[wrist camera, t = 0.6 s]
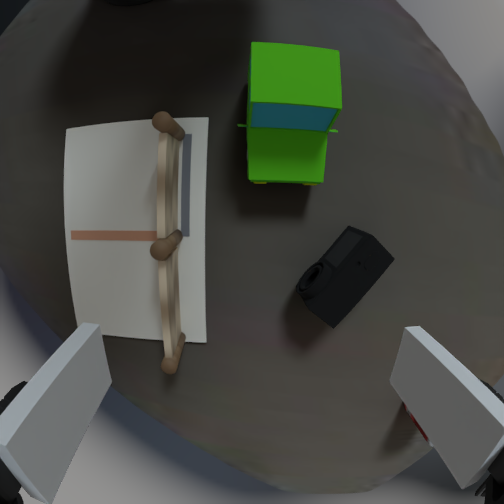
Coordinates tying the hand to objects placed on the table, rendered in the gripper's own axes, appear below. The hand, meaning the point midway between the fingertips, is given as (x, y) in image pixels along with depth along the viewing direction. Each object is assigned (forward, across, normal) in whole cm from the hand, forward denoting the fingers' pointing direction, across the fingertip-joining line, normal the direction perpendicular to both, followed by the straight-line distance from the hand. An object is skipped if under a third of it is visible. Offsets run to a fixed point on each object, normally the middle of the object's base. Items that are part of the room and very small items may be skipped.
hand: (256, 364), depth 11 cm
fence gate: (+25, -8, -8) cm, 27 cm away
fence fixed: (+26, -8, +6) cm, 28 cm away
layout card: (+26, -14, 0) cm, 29 cm away
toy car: (+26, +4, +13) cm, 30 cm away
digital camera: (+26, +11, -3) cm, 29 cm away
